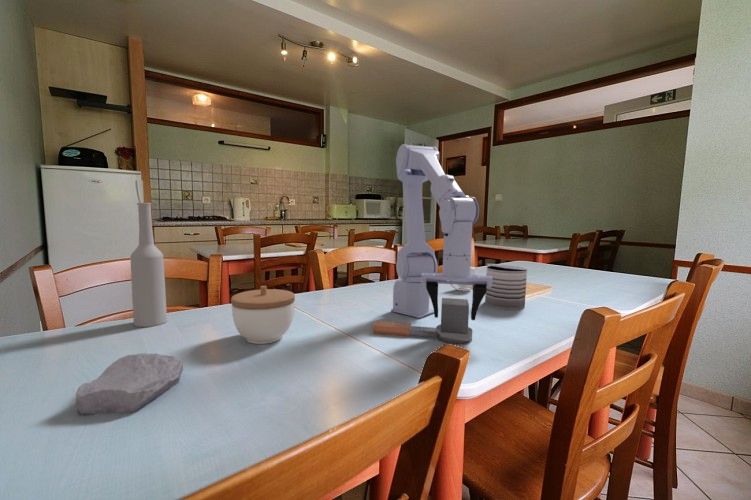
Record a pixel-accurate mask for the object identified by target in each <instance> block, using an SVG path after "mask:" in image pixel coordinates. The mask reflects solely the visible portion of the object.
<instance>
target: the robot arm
mask: <svg viewBox="0 0 751 500" xmlns="http://www.w3.org/2000/svg"><path fill="white" fill-rule="evenodd" d="M439 161H440V151H439V150H438V148H437V147H436V146H435V145H434V146H424V145H413V144H407V143H403V144H401V145H400V146H399V147H398V150H397V152H396V157H395V164H396V176H397V179H398V180H399V181H400V182H402V193H403V207H404V208H403V209H404V221H405V222H404V223H405V224H404V225H405V236H406V243H405V244H404V245H403V246H402V247H401V248H400V249H399V250H398V251H397V254H396V255H397V257H396V263H395V267H396V273H397V276H398V278H397V279H396V281H395V282H394V285H393V292H392V294H393V295H392V308H391V309H390V311H391V312H394V313H397V314H401V315H406V316H410V317H413V318H418V319H421V318H424V317H426V316H429V315H431V314H434V318H437V319H438V318H439V284H443V285H450V284H452V285H457V286H458V285H472V302H471V308H470V309H471V310H470V311H471V312H470V320H471V321H476V318H477V314H478V309H479V307H480V304H481V302H482V300H483V299H484V298H485V295H486V291H487V288H486V286H487V287H492V277H491V276H486V275H478V274H474V275H471V274H470V266H471V261H472V243H473V241H472V240H473V235H472V234H473V225H474V224H475V223H476V222H477V220H478V218H479V213H480V206H479V203H478V201H477V199H476V197H474V196H469V195H465V193H464V192H463V190H462V189H461V187H460V186H459V185H458V183H457V181H456V180H455V178H454V175H450V174H446V173H445V171H444V170H443V167H442V165H441V164H440V162H439ZM427 181H429V182H430V183H431V185H430V192H431V194H432V196H433V197H434V199H435V201H436V203H437V204H438V206H439V211H438V214H439V220H440V225H441V227H440V228H441V232H442V233H443V246H442V247H443V248H442V250H443V251H442V252H443V253H442V272H438V269H439V267H438V265H439V263H438V260H437V258H436V254H435V249H434V248H433V247H431V246H430V245H429V244H428V243H427V242H426V233H425V230H426V229H425V220H424V219H425V218H424V206H423V205H424V204H423V193H422V192H423V191H422V184H423V183H425V182H427ZM471 267H472V266H471ZM430 300H431V301H430ZM430 302H431V305H432V307H433V308H432V309H430Z"/></svg>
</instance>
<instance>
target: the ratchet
mask: <svg viewBox="0 0 751 500" xmlns="http://www.w3.org/2000/svg"><path fill="white" fill-rule="evenodd" d="M372 334H373V335H374V334H375V335H385V336H395V337H396V336H397V337H407V338H408V337H415V338H426V339H437V340H438V341H440V342H442V343H445V344H451V345H468V344H469V343H471V342H472V341H473V329H472V328H471V327H470V326H468V334H458V333H446V332H441V323H440V324H438V325H436V327H430V326H419V325H418V326H417V325H411V323H407V322H392V321H381V320H375V322H374V323H373V325H372Z"/></svg>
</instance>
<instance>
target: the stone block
mask: <svg viewBox="0 0 751 500" xmlns="http://www.w3.org/2000/svg"><path fill="white" fill-rule="evenodd" d="M183 370H184V365H183V361H182V360H181V359H179V358H177V357H175V356H172V355H163V354H159V353H146V352H143V353H136V354H126V355H125V356H122V357H119V358H118V359H117V360H116V361H114V362H112V363H111V364H110V365H108V366H107V367H106V369H105V370H103V372H102V373H101V374H100V375H99V376H98V377H97V378H96V379H93V380H92V381H90V382H84V383H82V384H81V385H80V386H79V387H78V388H77V391H76V392H75V393H76V394H75V396H76V397H75V402H74V403H75V404H74V406H75V409H76V411H77V412H78V413H79V414H80V415H82V416H85V415H101V414H109V413H117V414H118V413H119V414H125V413H127V414H128V413H134V412H136V411H138V410H140V409H141V408H142V407H143V406H146V405H147V404H149V403H150V402H152V401H153V400H154V399H157V398H158V397H159V396H162V395H163V394H164V393H166V392H167V391H168V390H170V389H172V388H173V387H174V386H176V385H178V384H179V382H180V378H181V375H182V373H183Z"/></svg>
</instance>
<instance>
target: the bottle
mask: <svg viewBox="0 0 751 500" xmlns="http://www.w3.org/2000/svg"><path fill="white" fill-rule="evenodd" d="M136 205H137V207H138V210H137V211H138V245H137V247H136V248H135V249H134V251H133V252H132V253H131V255H130V257H129V259H130V274H131V275H130V277H131V279H130V280H131V299H132V316H133V318H132V319H133V326H134V327H136V328H150V327H156V326H157V327H158V326H160V325H163V324H166V323H167V322H168V317H167V315H168V314H167V298H166V297H167V296H166V295H167V293H166V281H165V280H166V279H165V263H164V254H163V252H162V251H161V250H160V249H159V248H158V247H157V246H156V245H155V240H154V233H153V223H152V221H153V220H152V207H151V206H152V203H151V202H137V203H136Z"/></svg>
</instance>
